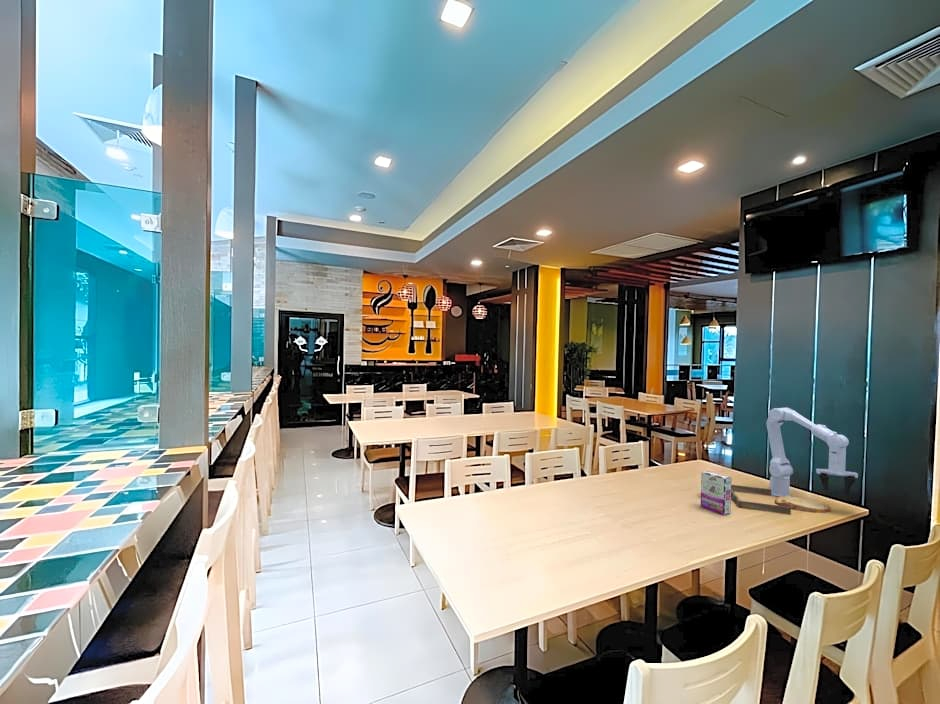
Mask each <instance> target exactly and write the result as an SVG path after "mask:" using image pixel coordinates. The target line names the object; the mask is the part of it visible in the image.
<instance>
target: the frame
mask: <svg viewBox="0 0 940 704" xmlns="http://www.w3.org/2000/svg"><path fill="white" fill-rule="evenodd" d="M735 492H737V493H745V494H753V495H761V496H770V497H771V496H772V494H771V489H770V488H763V487H762V488H761V487H757V486H756V487H755V486H747V485H736V484H731V500H732V501H733V502H734V503H735V504H736V506H737V507H738V508H741V509H747V510H753V511H762V512H768V513H777V514H783V515H791V513H792V509H791V507H785V506H779V505H777V504H771V503H770V504H768V503H763V502H762V503H761V502H753V501H745V500H741V499H740V498H739V496H738V495H737V494H736V493H735Z"/></svg>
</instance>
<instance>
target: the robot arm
mask: <svg viewBox="0 0 940 704" xmlns="http://www.w3.org/2000/svg"><path fill="white" fill-rule="evenodd" d="M767 414H768V417H767V420H766V424H765V425H766V428H767V429H766V430H767V435H768V440H769V446H770V451H771V457H772V458H771V460H770V462H769V469H768V470H769V473H770V475H771V476H770V478H769V489H771V496H774V497H780V496H784V495H785V496H789V497H793V496H792V495H791V494H790V488H791V487H790V486H791V485H790V483H791V482H790V481H791V480H790V479H791V476H792V475H793V474H794V469H793V466H792V465H791V462H790V460H789V459H788V458H787V457H786V452H785V447H784V441H783V436H782V432H781V431H782V430H781V426H782V425H783V424H784V423H786V422H789V421H792V422H795V423H797V424H799V425H800V426H803V427H805V428H806V429H808V430H810V431H811V435H813V436H815V437H816V438H818V439H821V440H822V441H823V442H826V444H827V446H828V447H829V448H828V449H829V450H828V468H815V472H816V474H818V477H819V478H820V479H819V480H820V481H821V483H822V487H823V490H824V491H828V490H829V485H828V484H829V479H830V477H829V476H828V475H830V476H831V475H832V476H840V477H843V480H844V489H843V490H844V492H845V493H847V494H849V493H850V490H851V488H852V486H853V485H854V483H855V482H856V481H857V479H858V477H859V473H857V472H856V471H854V472H853V471H846V463H847V462H846V460H847V459H846V457H847V447H848V445H850V441H849V438H848V437H846V435H844V434H838V432H837V431H833V430H831V429H829V428H828V427H827V425H825V424H820V423H819V424H815V423H814V422H812V421H811V420H809V419H808V418H806V417H804V416H803V415H802V414H800V413H798V412H797V411H796V410H794V409H792V408H790V407H785V406H784V407H779V408H778V407H774V408H772V409H770V410H769V411H768V413H767Z"/></svg>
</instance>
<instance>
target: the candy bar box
mask: <svg viewBox="0 0 940 704" xmlns="http://www.w3.org/2000/svg"><path fill="white" fill-rule="evenodd" d="M700 482H701V484H700V507H701V508H703V509H706V510H710V511H711V512H714V513H717V514H720V515H722V516H726V515H730V514H731V504H732V502H731V500H732V498H731V485H732V477H731V476H727V475H725V474H721V473H718V472H715V471H710V470H705V471H701V481H700Z"/></svg>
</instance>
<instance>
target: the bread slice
mask: <svg viewBox="0 0 940 704" xmlns="http://www.w3.org/2000/svg"><path fill="white" fill-rule="evenodd" d="M774 505H778V506H785V507H791V510H795V511H800V512H807V513H815V514H817V513H818V514H827V512H828V513H830V512H832V509H831V507H830V506H829V505H828V504H826V503H825V502H822V501H817V500H813V499H807V498H803V497H794V496H792V497H789V496H785V495H784V496H777V497H776V498H775V500H774Z"/></svg>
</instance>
